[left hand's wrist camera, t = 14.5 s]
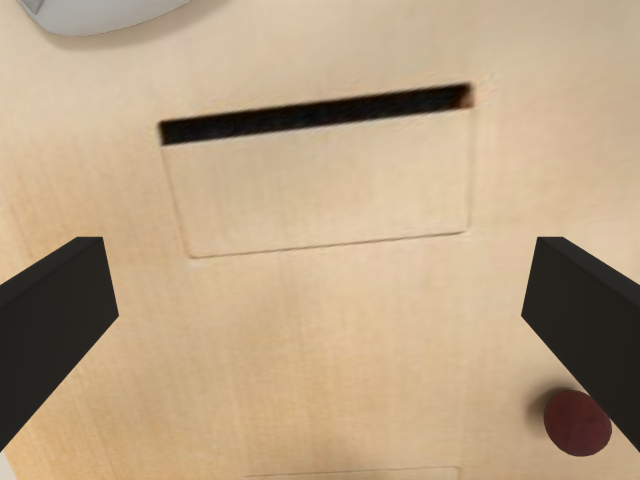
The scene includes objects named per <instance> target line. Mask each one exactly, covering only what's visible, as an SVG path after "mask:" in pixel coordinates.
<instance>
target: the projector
mask: <svg viewBox="0 0 640 480" xmlns="http://www.w3.org/2000/svg"><path fill="white" fill-rule="evenodd" d="M17 1H18V2H19V3H20V5H21V6H22V7H23V9H24V10H25V11H26V12H27V14H28V15H29V16H30V17H31V18H32V19H33V20H34V21H35V23H37V24H38V25H39V26H40V27H41V28H42V29H44V30H45V31H47V32H50V33H53V34H56V35H61V36H72V37H76V36H88V35H95V34H101V33H106V32H110V31H115V30H119V29H123V28H127V27H130V26H133V25H137V24H140V23H143V22H145V21H148V20H151V19H154V18H156V17H158V16H161V15H163V14H165V13H168V12H170V11H172V10H174V9H176V8H178V7H180V6H182V5H184V4H186V3H188V2H190V1H192V0H17Z"/></svg>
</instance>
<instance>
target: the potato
mask: <svg viewBox="0 0 640 480" xmlns="http://www.w3.org/2000/svg"><path fill="white" fill-rule="evenodd" d="M544 424H545V428H546V431H547V433H548V435H549V437H550V439H551V440H552V441H553V443H554V444H555V445H556V446H557V447H558V448H559V449H560V450H562V451H564V452H566V453H567V454H569V455H573V456H582V457H583V456H589V455H594V454H595V453H597V452H599V451H600V450H602V449H603V448H604V447H605V446H606V445H607V444H608V442H609V440H610V437H611V433H612V426H611V421H610V418H609V417H608V415H607V414H606V413H605V412H604V411H603V410H602V409H601V407H600V406H599V405H598V404H597V403H596V402H595V400H594V399H593V398H592V397H591V396H589V395H587V394H585V393H583V392H580V391H573V390H571V391H566V392H562V393H560V394H558V395H556V396H555V397H554V398H553V399H552V400H551V401H550V402H549V404H548V405H547V407H546V409H545V412H544Z"/></svg>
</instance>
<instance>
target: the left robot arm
mask: <svg viewBox="0 0 640 480" xmlns="http://www.w3.org/2000/svg"><path fill="white" fill-rule="evenodd" d="M118 316H119V313H118V309H117V304H116V299H115V294H114V289H113V285H112V280H111V275H110V270H109V265H108V261H107V256H106V251H105V246H104V241H103V237H76V238H75V239H73V240H71V241H70V242H68V243H67V244H65V245H63V246H62V247H60V248H59V249H57V250H55V251H54V252H52V253H51V254H49V255H47V256H46V257H44V258H43V259H41V260H39V261H38V262H36V263H35V264H33V265H31V266H30V267H28V268H27V269H25V270H24V271H22V272H20V273H19V274H17V275H16V276H14V277H12V278H11V279H9V280H8V281H6V282H4V283H3V284H1V285H0V452H1V451H2V450H3V449H4V448H5V446H6V445H7V444H8V443H9V442H10V441H11V440H12V438H13V437H14V436H15V435H16V434H17V433H18V432H19V430H20V429H21V428H22V427H23V426H24V425H25V423H26V422H27V421H28V420H29V419H30V418H31V417H32V415H33V414H34V413H35V412H36V411H37V410H38V409H39V407H40V406H41V405H42V404H43V403H44V402H45V400H46V399H47V398H48V397H49V396H50V395H51V394H52V392H53V391H54V390H55V389H56V388H57V387H58V385H59V384H60V383H61V382H62V381H63V380H64V379H65V377H66V376H67V375H68V374H69V373H70V372H71V371H72V369H73V368H74V367H75V366H76V365H77V364H78V362H79V361H80V360H81V359H82V358H83V357H84V356H85V354H86V353H87V352H88V351H89V350H90V349H91V348H92V346H93V345H94V344H95V343H96V342H97V341H98V339H99V338H100V337H101V336H102V335H103V334H104V333H105V331H106V330H107V329H108V328H109V327H110V326H111V324H112V323H113V322H114V321H115V320H116V319H117V318H118ZM521 316H522V318H523V319H524V320H525V321H526V322H527V323H528V324H529V326H530V327H531V328H532V329H533V330H534V331H535V333H536V334H537V335H538V336H539V337H540V338H541V339H542V341H543V342H544V343H545V344H546V345H547V346H548V348H549V349H550V350H551V351H552V352H553V353H554V354H555V356H556V357H557V358H558V359H559V360H560V361H561V362H562V364H563V365H564V366H565V367H566V368H567V369H568V371H569V372H570V373H571V374H572V375H573V376H574V377H575V379H576V380H577V381H578V382H579V383H580V384H581V385H582V387H583V388H584V389H585V390H586V391H587V392H588V394H589V395H590V396H591V397H592V398H593V399H594V400H595V402H596V403H597V404H598V405H599V406H600V407H601V409H602V410H603V411H604V412H605V413H606V414H607V415H608V417H609V418H610V419H611V420H612V421H613V422H614V423H615V425H616V426H617V427H618V428H619V429H620V430H621V432H622V433H623V434H624V435H625V436H626V437H627V438H628V440H629V441H630V442H631V443H632V444H633V445H634V446H635V448H636V449H637V450H638V451H639V452H640V285H639V284H637V283H636V282H634V281H632V280H631V279H629V278H628V277H626V276H624V275H623V274H621V273H620V272H618V271H616V270H615V269H613V268H612V267H610V266H609V265H607V264H605V263H604V262H602V261H601V260H599V259H597V258H596V257H594V256H593V255H591V254H589V253H588V252H586V251H585V250H583V249H581V248H580V247H578V246H577V245H575V244H573V243H572V242H570V241H569V240H567V239H565V238H564V237H537V241H536V246H535V251H534V256H533V261H532V265H531V270H530V275H529V280H528V285H527V289H526V294H525V299H524V304H523V309H522V313H521Z"/></svg>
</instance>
